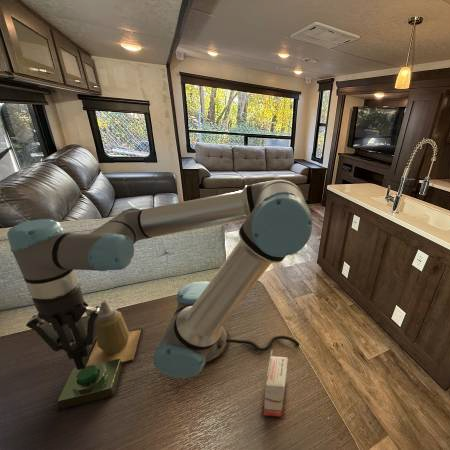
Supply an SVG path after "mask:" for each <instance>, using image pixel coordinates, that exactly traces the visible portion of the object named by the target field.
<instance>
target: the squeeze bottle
mask: <svg viewBox="0 0 450 450" xmlns="http://www.w3.org/2000/svg"><path fill="white" fill-rule="evenodd" d="M100 307H101V310H100V312H99V314H98V317H97V329H96V336H95V337H96V341H97V344H98V347H99V348H100V349H102V350H103V351H104V352H105V353H107V354H115V353H118V352H120V351H121V350H123V349H124V348H125V347H126V345H127V342H128V338H129V332H130V331H129V329H128V326H127V323H126V322H125V319H124V316H123V314H122V312H121V311H119V310H117V307H116V306H113V305H112V306H111V305H110V304H109V303H108V301H107V300H105V299H104V300H102V301H101V302H100Z"/></svg>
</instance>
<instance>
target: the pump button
mask: <svg viewBox="0 0 450 450" xmlns="http://www.w3.org/2000/svg"><path fill="white" fill-rule="evenodd" d="M97 376H98V370H97V367H96V366H94V365H90V366H87V367H85V369H82V370H80V371H79V373H78V374H77V379H78V382H79V384H81V385H86V384H89V383H90V382H92V381H94V380H95V379H96V378H97Z"/></svg>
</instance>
